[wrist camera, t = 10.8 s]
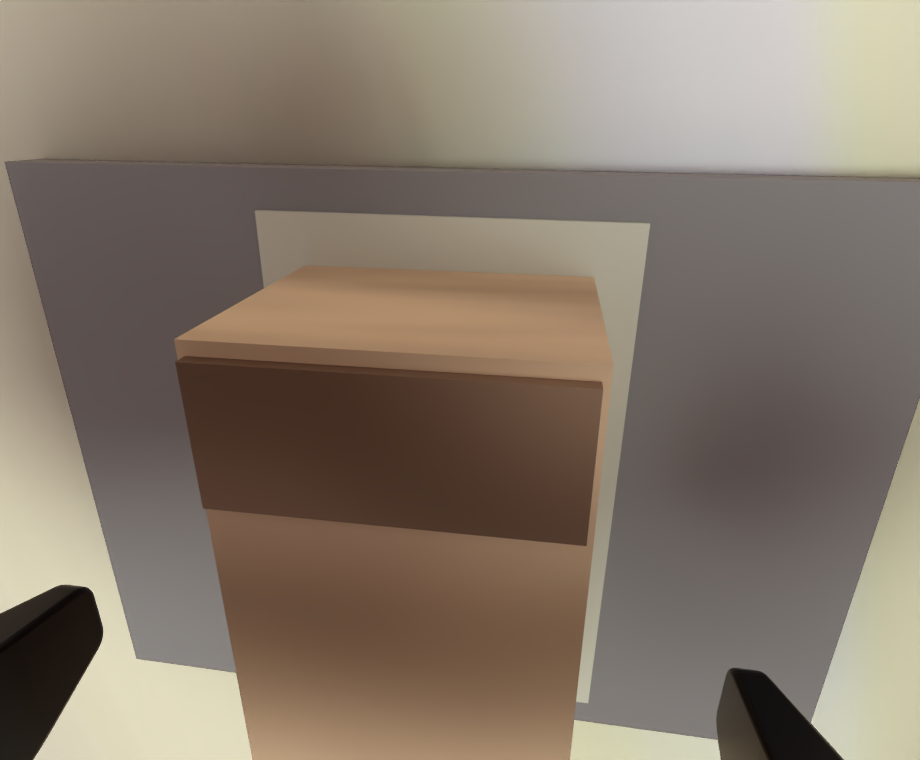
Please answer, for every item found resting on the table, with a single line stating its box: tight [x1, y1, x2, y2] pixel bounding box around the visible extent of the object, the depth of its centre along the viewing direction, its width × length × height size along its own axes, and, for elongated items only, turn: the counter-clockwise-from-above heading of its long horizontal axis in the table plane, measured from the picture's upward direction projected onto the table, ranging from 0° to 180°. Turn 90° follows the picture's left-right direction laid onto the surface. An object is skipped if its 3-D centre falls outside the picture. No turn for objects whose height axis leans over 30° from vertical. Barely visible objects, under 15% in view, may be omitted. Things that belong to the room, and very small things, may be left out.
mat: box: [5, 159, 920, 740], centre depth 13 cm, size 16×12×1 cm
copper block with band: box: [174, 266, 614, 760], centre depth 10 cm, size 9×5×4 cm, turn 0°
